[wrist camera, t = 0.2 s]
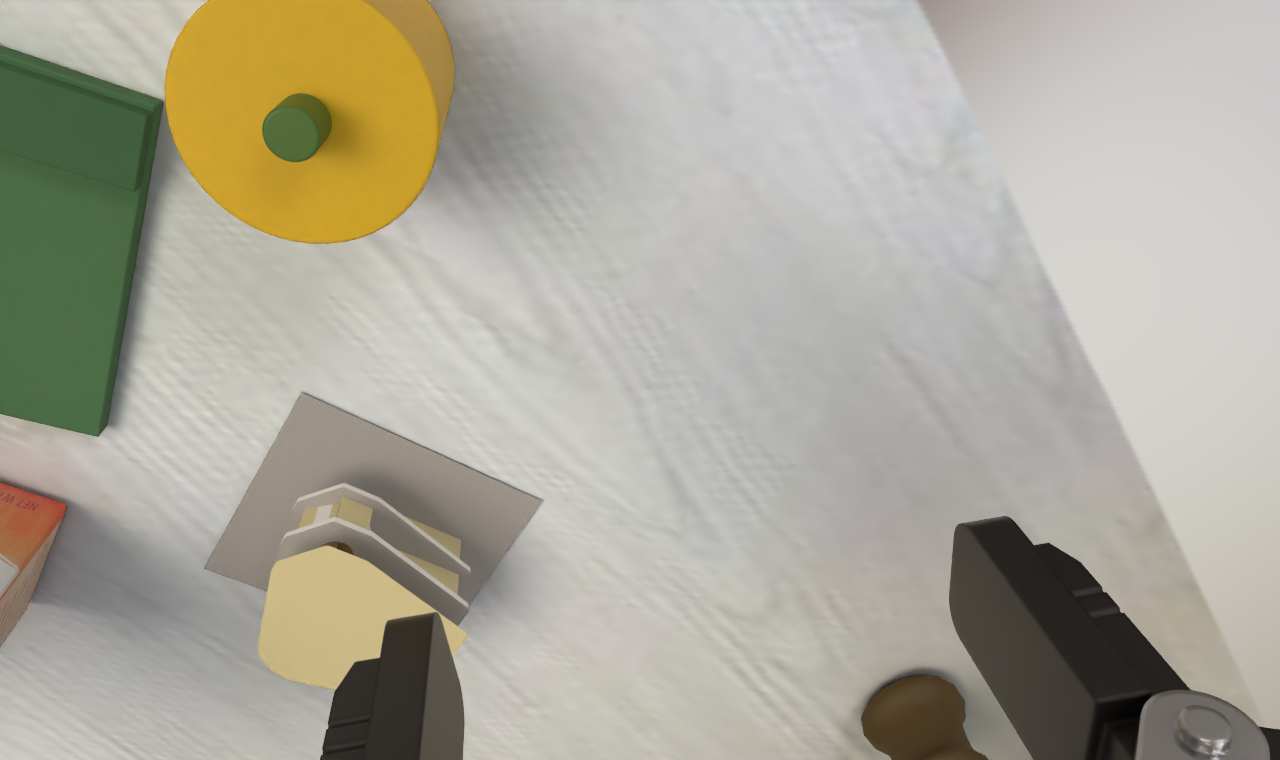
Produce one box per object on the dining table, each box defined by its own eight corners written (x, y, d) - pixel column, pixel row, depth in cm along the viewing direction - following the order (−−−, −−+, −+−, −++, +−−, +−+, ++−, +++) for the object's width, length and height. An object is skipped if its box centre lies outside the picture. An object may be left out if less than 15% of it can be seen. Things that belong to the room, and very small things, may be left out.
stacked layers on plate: (542, 500, 36) (548, 592, 31) (435, 651, 39) (426, 758, 34) (302, 391, 32) (267, 477, 28) (204, 567, 35) (157, 672, 30)
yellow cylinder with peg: (274, -78, 26) (164, -70, 17) (479, 5, 27) (469, 49, 19) (233, 123, 28) (117, 217, 20) (424, 188, 30) (393, 301, 21)
